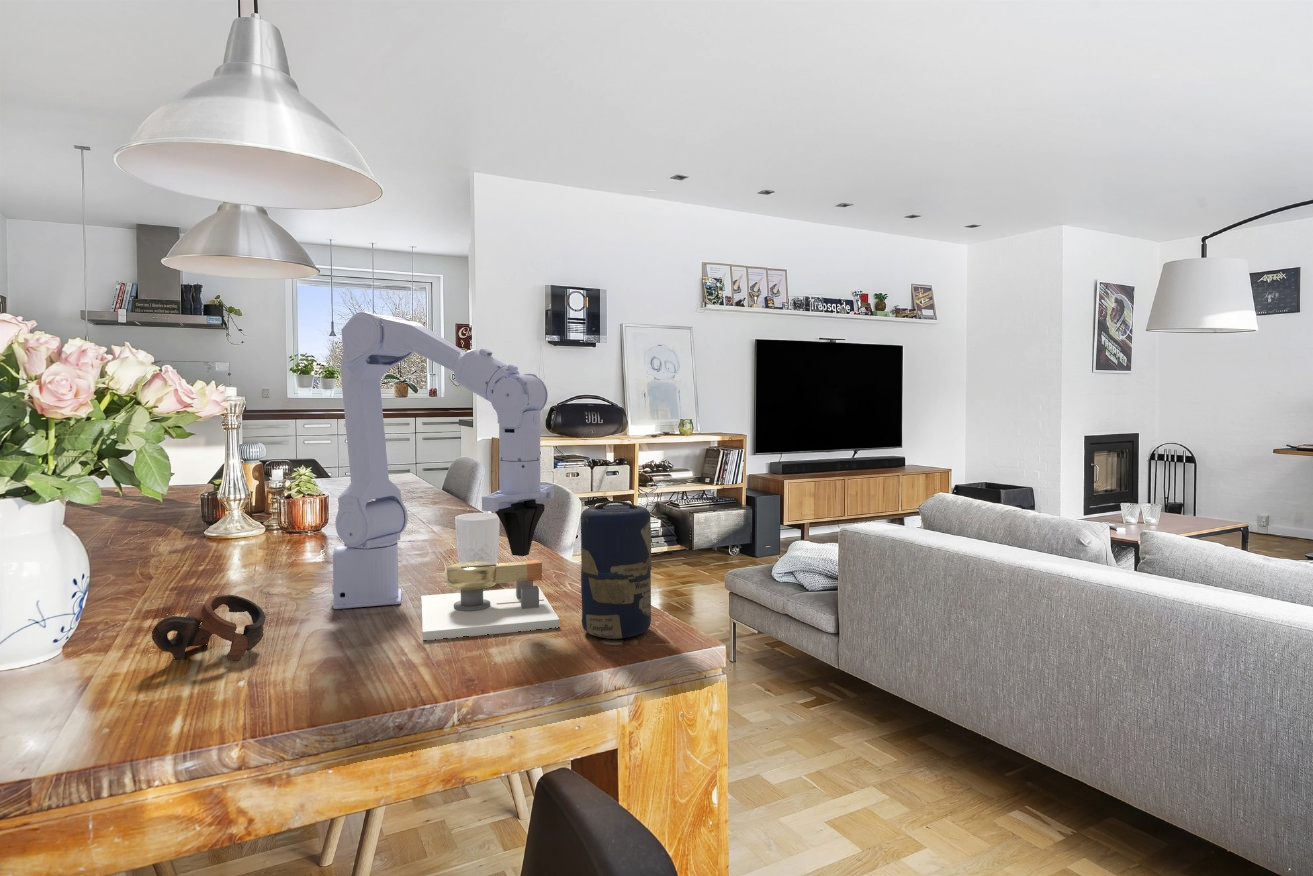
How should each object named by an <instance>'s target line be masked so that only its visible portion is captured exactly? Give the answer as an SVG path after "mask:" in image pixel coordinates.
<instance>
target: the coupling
mask: <svg viewBox="0 0 1313 876" xmlns="http://www.w3.org/2000/svg"><path fill="white" fill-rule="evenodd" d="M520 581H533V582H534V581H535V582H536V581H537V582H538V581H543V563H542V561H541V560H540V559H534V560H533V559H532V560H524V561H513V562H511V561H510V562H499V563H498V562H497V564H493V563H490V562H462V563H459V562H458V563H457V562H456V563H453V564H450V565H449V566H447V567H446V587H447V588H449V589H450V590H455V591H456V590H457V591H461V590H479V589H483V590H485V589H488V588H492V587H494V586H495V585H496V584H507V583H508V584H509V583H516V582H520Z"/></svg>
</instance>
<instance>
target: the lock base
mask: <svg viewBox="0 0 1313 876" xmlns="http://www.w3.org/2000/svg"><path fill="white" fill-rule="evenodd" d="M420 597H421V600H420V601H421V623H422V624H421V625H422V627H421V630H422V631H421V632H422V641H423V640H427V641H436V640H444V639H443V638H448V639H455V638H456V637H458V638H464V637H463V636H469V637H475V636H476V637H479V636H488V635H487V634H489V635H498V634H506V633H507V634H509V633H518V631H521V632H529V631H530V630H531V631H537V630H536V629H542V630H550V629H549V628H552V629H559V628H558V627H561V626H560V618H559V616H558V614H557V613H556V612H555V610H554V609H553V608H554V607H552V605H551V603H550V602H549V600H548V599H547V597H546V596H545V594H544V592H543V590H541V588H540V586H538V585H534V581H520V582H515V588H504V589H492V590H491V589H490V590H489V589H488V590H484V589H479V590H460V592H456V593H455V592H453V593H451V592H450V593H442V594H430V595H429V594H428V595H421V596H420ZM555 627H556V628H555ZM435 639H436V640H435ZM456 639H457V638H456Z"/></svg>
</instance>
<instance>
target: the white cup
mask: <svg viewBox="0 0 1313 876" xmlns="http://www.w3.org/2000/svg"><path fill="white" fill-rule="evenodd" d="M454 523H455V524H454V525H455V537H456V538H455V539H456V540H455V542H456V552H457V553H456V554H457V555H456V556H457V559H458V563H462V562H490V563H493V564H497V563H498V556H499V555H498V554H499V545H500V523H501V521H500V519H499V517H498V516H497V514H496V513H494V512H470V513H468V512H467V513H462V514H459V515H456V516H455V517H454Z"/></svg>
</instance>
